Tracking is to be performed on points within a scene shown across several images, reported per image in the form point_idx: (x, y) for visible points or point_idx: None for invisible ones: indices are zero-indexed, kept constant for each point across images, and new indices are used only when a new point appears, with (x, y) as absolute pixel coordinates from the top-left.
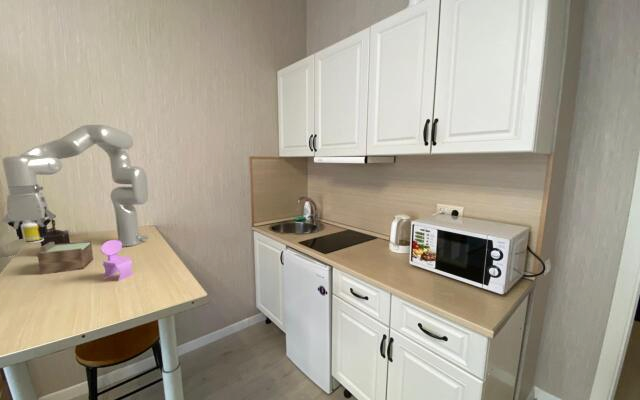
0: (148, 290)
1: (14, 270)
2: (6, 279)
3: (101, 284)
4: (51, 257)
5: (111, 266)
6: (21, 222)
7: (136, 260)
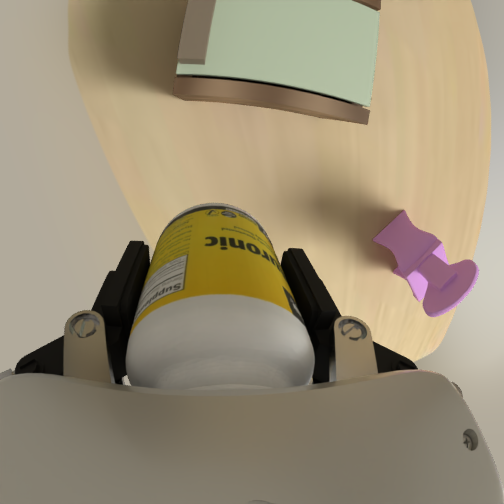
0: (412, 326)
1: (83, 28)
2: (89, 111)
3: (365, 277)
4: (234, 99)
5: (408, 243)
6: (104, 378)
7: (443, 135)
